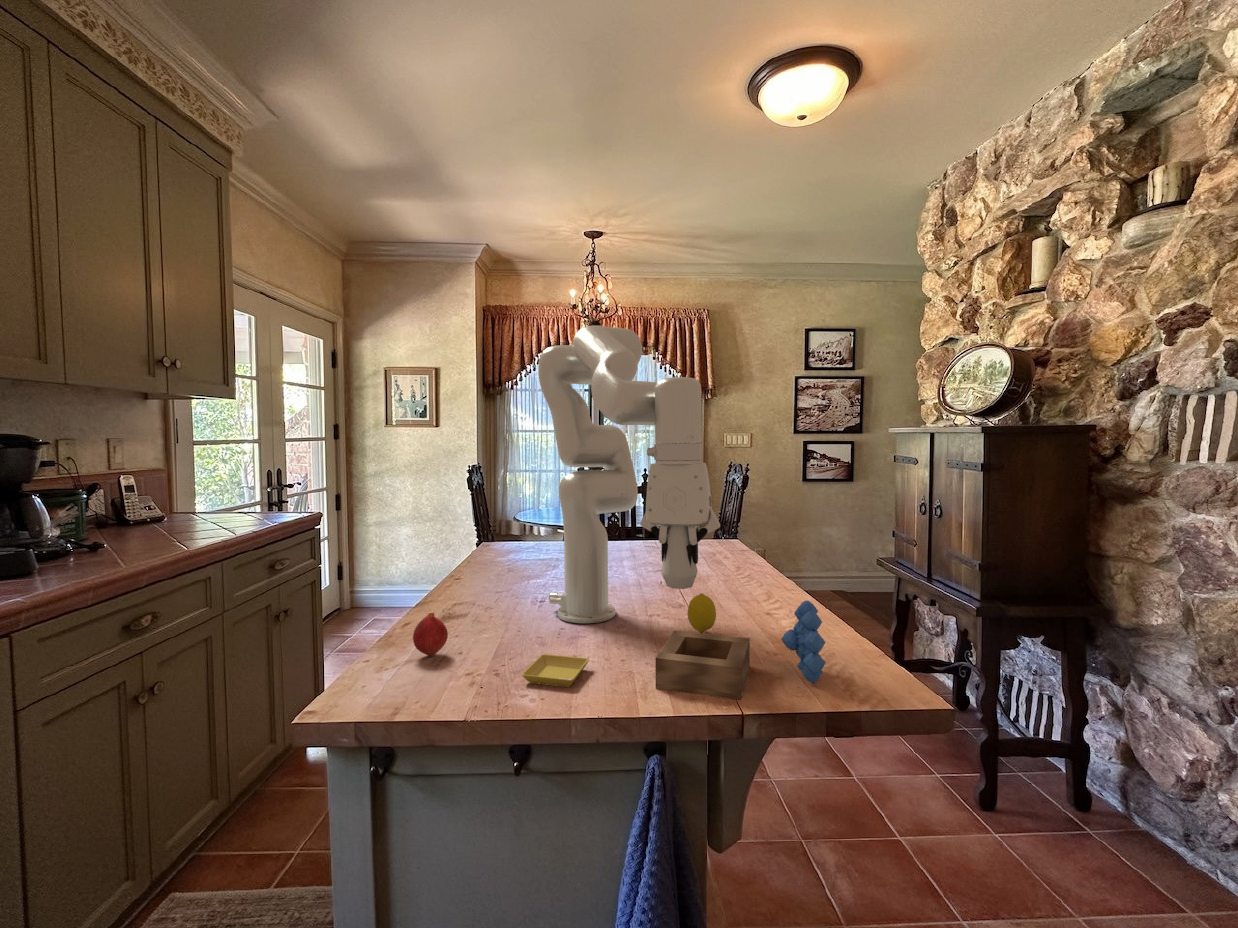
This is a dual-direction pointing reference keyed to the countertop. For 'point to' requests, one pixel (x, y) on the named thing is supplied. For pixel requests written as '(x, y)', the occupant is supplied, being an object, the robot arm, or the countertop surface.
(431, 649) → the onion
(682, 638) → the shaker holder
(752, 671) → the countertop surface
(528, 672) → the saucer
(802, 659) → the grapes
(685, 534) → the salt shaker
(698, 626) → the lemon
